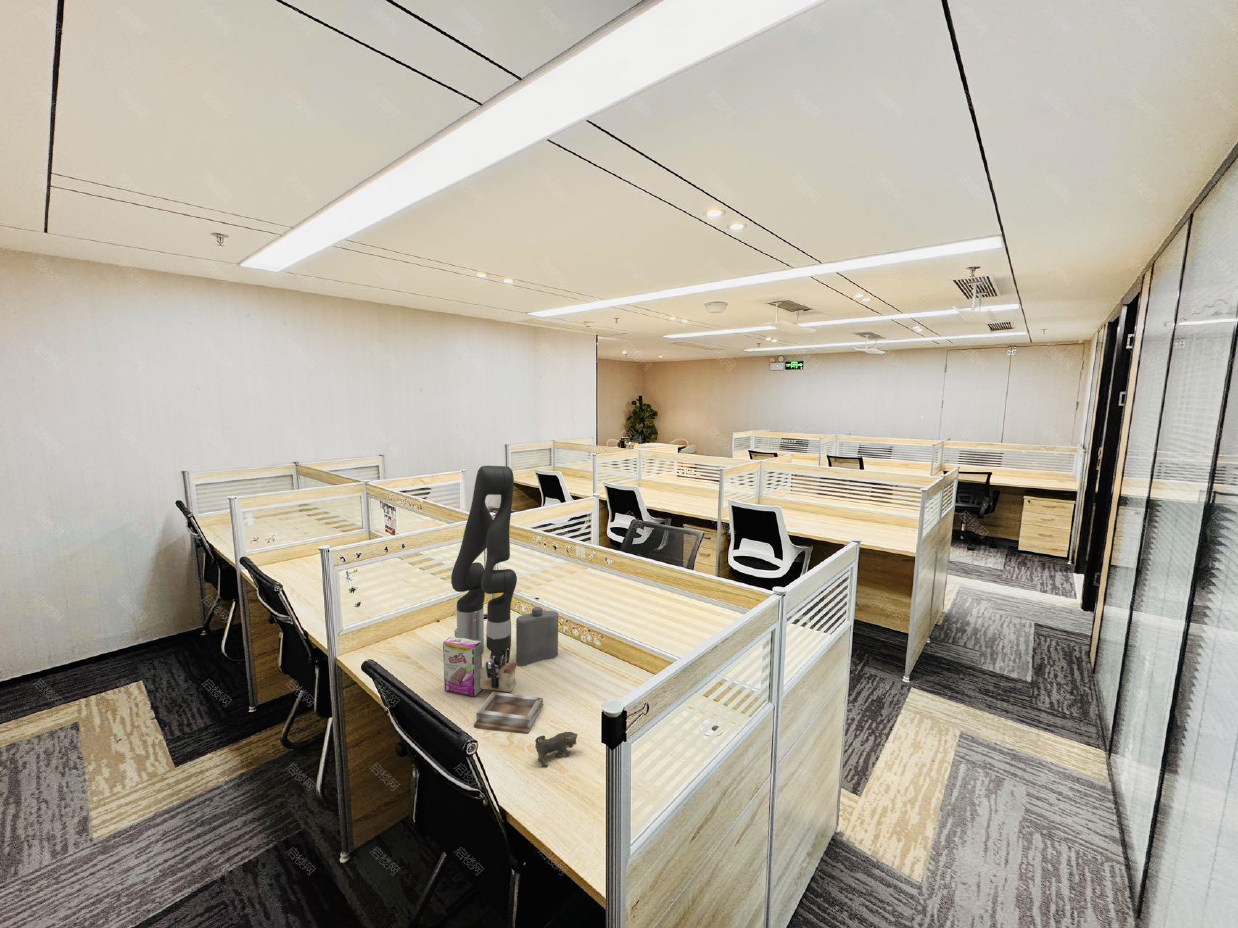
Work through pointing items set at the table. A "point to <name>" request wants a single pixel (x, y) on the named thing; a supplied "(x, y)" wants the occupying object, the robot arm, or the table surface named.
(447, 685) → the candy bar box
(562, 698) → the table surface
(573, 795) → the table surface
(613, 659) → the table surface
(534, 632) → the flask
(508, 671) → the fuselage block
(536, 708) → the tray
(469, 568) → the robot arm
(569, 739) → the dog figurine
